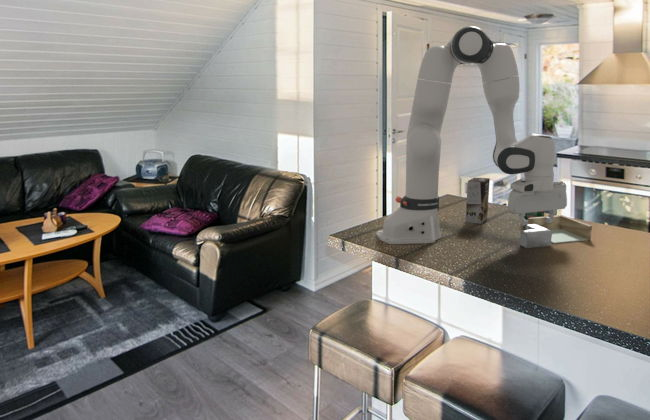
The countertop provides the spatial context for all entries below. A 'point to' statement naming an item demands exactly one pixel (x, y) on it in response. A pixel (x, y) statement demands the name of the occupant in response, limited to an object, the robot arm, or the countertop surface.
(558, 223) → the walls
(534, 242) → the bracket
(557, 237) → the mat
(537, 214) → the canned tomato
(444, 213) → the countertop surface
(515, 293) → the countertop surface
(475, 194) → the coffee box
